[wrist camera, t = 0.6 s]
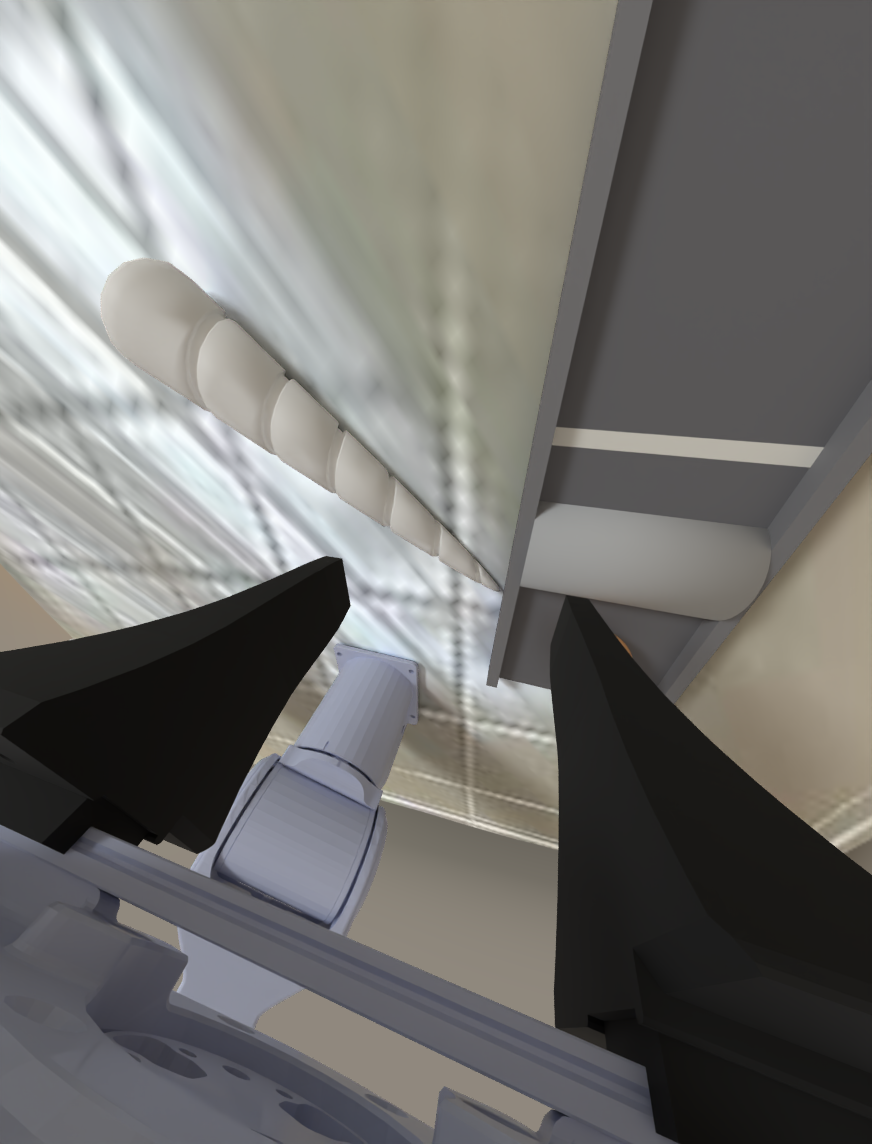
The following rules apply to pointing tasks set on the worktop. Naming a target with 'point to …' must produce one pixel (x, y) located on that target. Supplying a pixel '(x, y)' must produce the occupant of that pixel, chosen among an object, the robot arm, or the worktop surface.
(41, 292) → the worktop surface
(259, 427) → the unicorn horn
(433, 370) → the worktop surface
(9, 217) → the worktop surface
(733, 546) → the divided tray
